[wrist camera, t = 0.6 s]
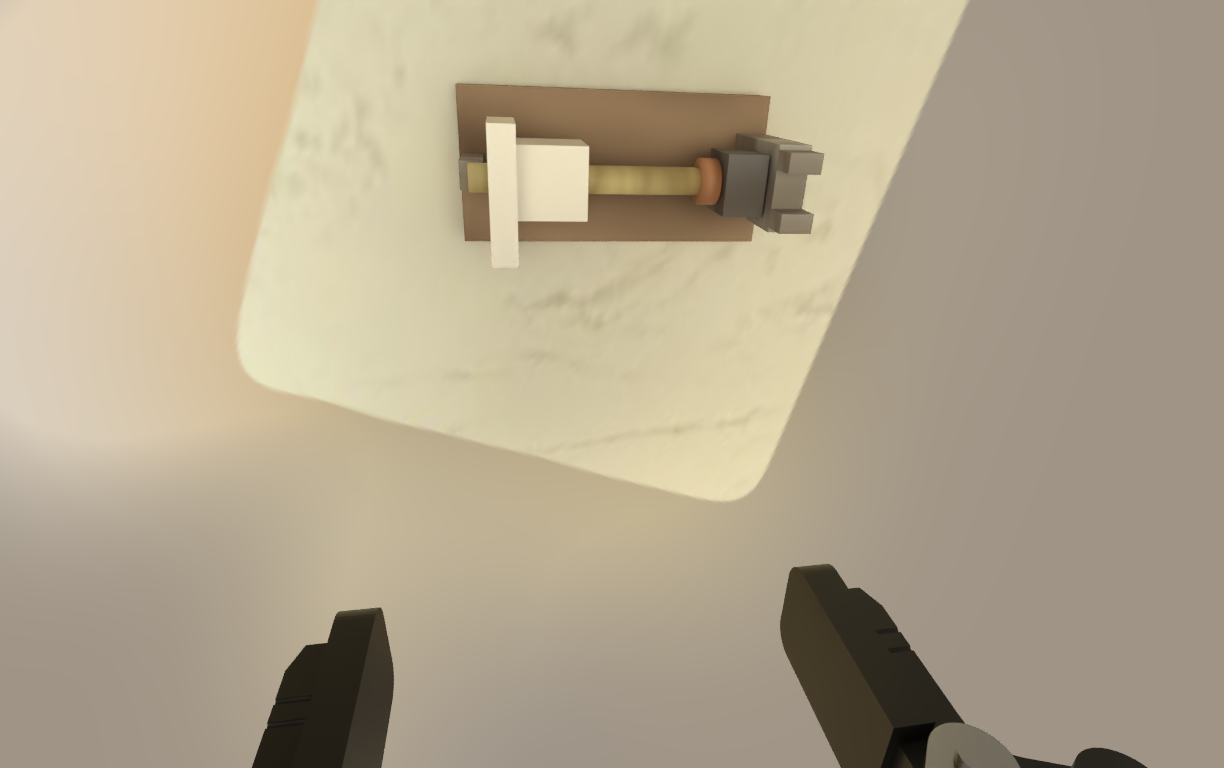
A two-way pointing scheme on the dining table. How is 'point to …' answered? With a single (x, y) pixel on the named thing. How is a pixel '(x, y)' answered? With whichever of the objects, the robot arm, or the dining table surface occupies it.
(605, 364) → the dining table surface
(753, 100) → the linear actuator
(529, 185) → the cream stepped block
